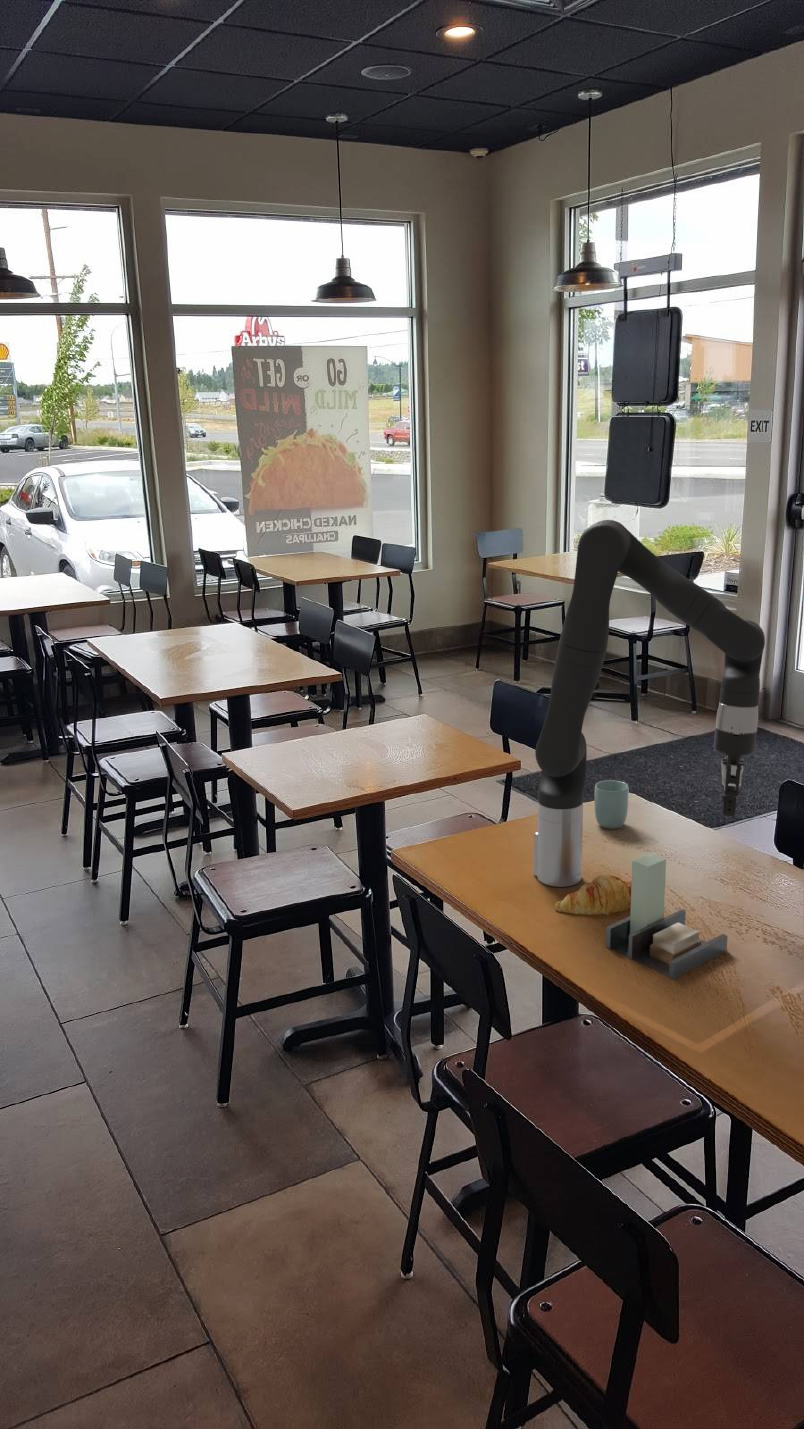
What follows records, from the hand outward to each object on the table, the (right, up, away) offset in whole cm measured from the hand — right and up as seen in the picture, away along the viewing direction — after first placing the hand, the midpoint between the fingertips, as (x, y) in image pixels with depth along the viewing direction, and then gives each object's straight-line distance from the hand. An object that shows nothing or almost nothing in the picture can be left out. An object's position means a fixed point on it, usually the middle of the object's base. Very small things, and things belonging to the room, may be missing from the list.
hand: (728, 808), depth 208 cm
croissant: (-23, -20, +6) cm, 31 cm away
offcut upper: (-14, -23, -15) cm, 30 cm away
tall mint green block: (-18, -23, -9) cm, 31 cm away
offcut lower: (-14, -25, -14) cm, 32 cm away
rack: (-15, -25, -12) cm, 32 cm away
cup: (-14, -8, +46) cm, 49 cm away
